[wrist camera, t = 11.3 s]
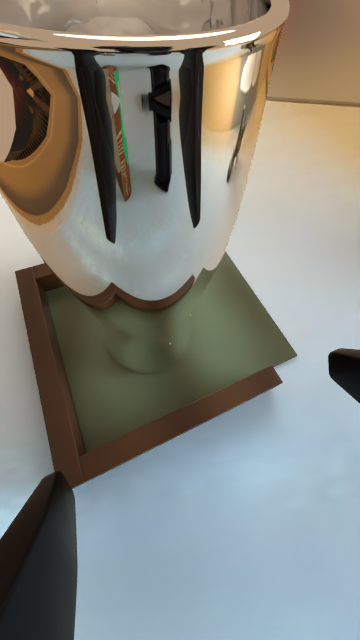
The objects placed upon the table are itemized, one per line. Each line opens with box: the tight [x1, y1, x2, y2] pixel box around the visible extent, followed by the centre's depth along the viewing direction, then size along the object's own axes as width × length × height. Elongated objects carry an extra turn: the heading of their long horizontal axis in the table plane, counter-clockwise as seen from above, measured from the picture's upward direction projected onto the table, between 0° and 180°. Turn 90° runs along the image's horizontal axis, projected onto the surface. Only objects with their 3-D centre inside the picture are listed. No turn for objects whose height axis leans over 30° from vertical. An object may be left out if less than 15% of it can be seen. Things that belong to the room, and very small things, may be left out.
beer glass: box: [0, 0, 290, 373], centre depth 11 cm, size 7×7×15 cm
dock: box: [15, 252, 297, 489], centre depth 17 cm, size 16×14×2 cm
